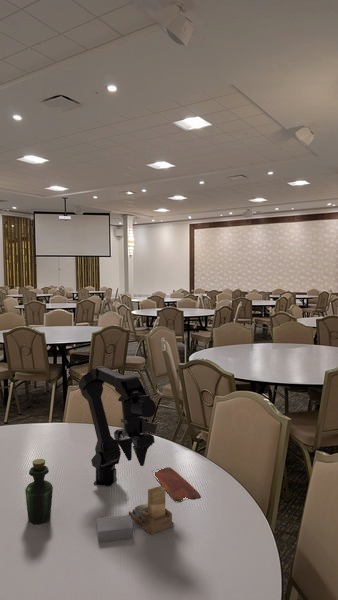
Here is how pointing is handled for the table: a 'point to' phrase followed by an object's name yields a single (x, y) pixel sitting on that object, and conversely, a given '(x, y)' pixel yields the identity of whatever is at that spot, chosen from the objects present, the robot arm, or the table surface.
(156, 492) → the oak block
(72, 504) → the table surface
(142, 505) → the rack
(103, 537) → the plinth
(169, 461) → the table surface
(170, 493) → the wooden tablet
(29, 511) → the potion bottle
